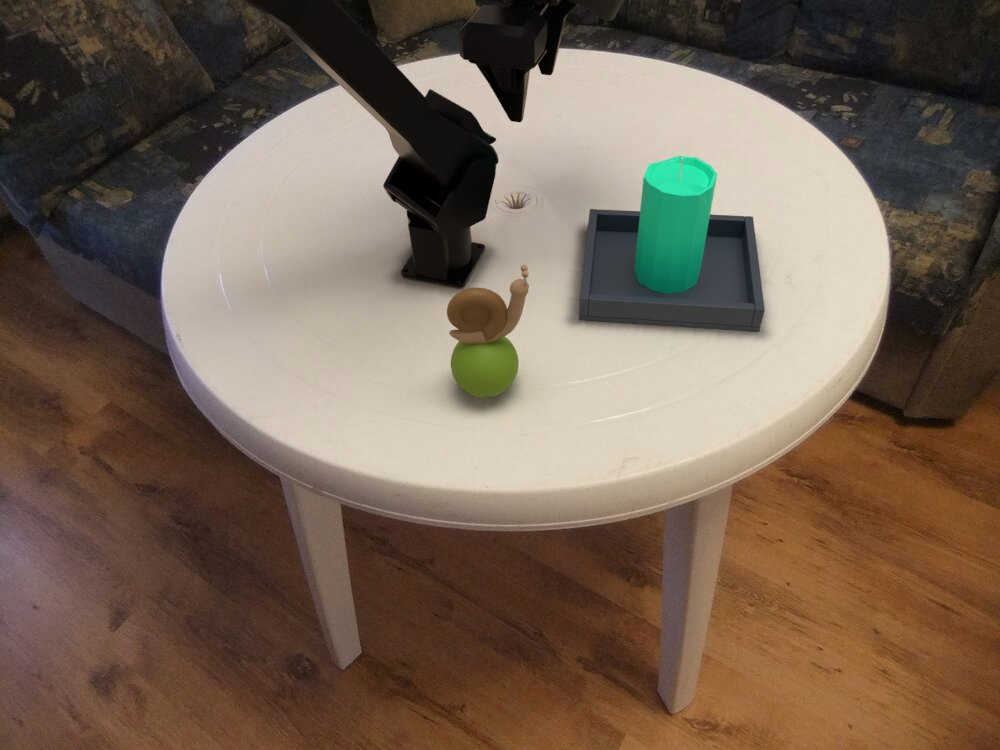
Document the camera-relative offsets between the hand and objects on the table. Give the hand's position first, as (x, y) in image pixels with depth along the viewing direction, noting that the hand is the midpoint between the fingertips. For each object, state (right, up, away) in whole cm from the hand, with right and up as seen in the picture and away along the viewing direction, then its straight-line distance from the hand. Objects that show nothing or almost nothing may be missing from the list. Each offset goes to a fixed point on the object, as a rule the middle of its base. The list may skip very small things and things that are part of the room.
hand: (532, 96), depth 73 cm
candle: (+13, -16, +1) cm, 21 cm away
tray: (+13, -16, +2) cm, 21 cm away
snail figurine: (-4, -27, -7) cm, 28 cm away
